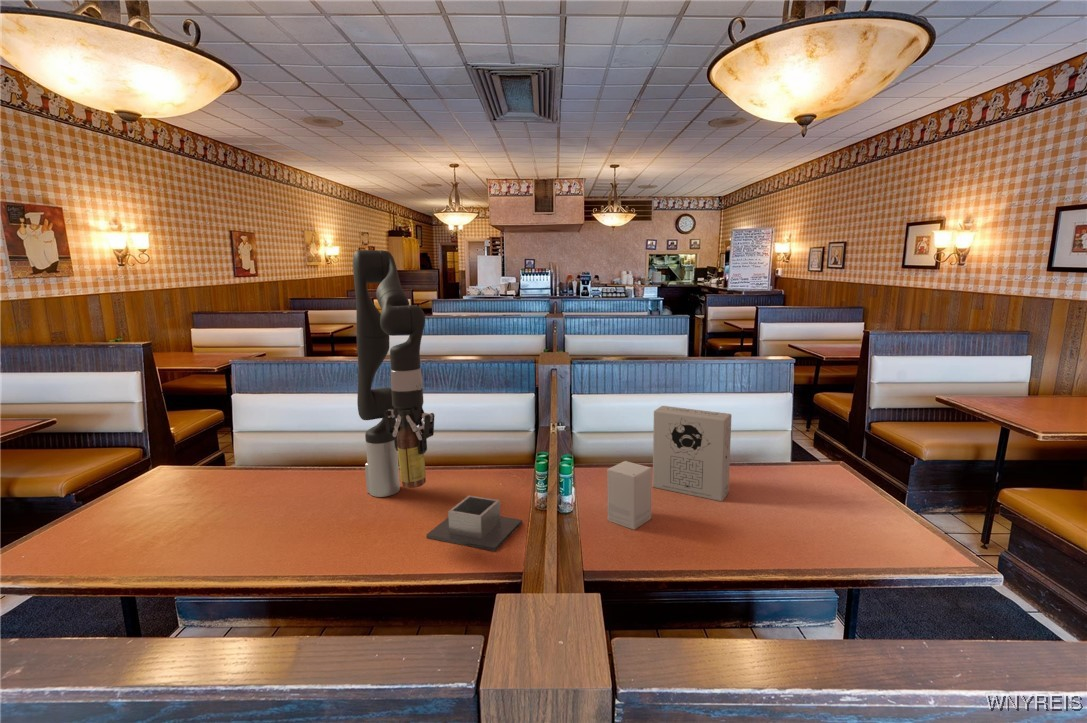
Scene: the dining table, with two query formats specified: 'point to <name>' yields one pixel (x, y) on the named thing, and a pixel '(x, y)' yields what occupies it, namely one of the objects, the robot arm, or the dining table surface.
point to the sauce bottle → (409, 454)
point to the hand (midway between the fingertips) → (411, 451)
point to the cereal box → (692, 452)
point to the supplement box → (629, 494)
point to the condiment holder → (476, 524)
